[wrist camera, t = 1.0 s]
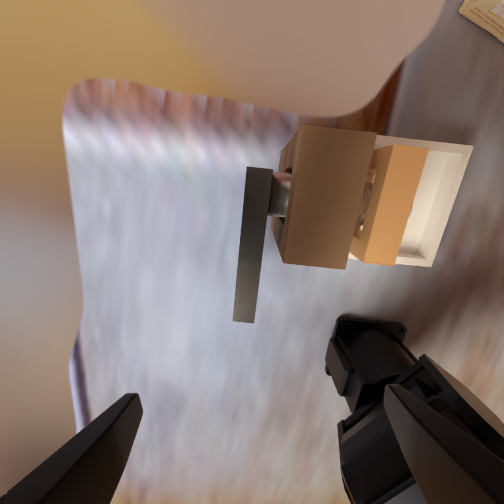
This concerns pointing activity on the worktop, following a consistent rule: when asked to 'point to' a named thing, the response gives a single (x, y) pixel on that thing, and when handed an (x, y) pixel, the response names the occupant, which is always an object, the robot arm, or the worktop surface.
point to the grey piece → (253, 231)
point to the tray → (429, 197)
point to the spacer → (388, 202)
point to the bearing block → (322, 194)
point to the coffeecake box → (486, 15)
